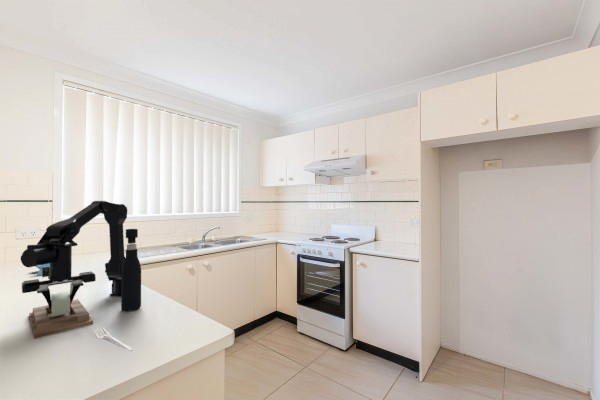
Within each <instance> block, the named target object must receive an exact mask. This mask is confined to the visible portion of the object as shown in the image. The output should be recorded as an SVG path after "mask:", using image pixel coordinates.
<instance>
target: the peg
mask: <svg viewBox="0 0 600 400" xmlns="http://www.w3.org/2000/svg"><path fill="white" fill-rule="evenodd" d="M69 295H70V292H69V291H68V290H66V291H62V292H55V293H50V296H51V303H52V309H51V311H52V316H57V315H62V314H67V313H70V297H69Z"/></svg>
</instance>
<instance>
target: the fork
mask: <svg viewBox="0 0 600 400" xmlns="http://www.w3.org/2000/svg"><path fill="white" fill-rule="evenodd" d="M102 329H103V330H102ZM93 331H94V336H95V337H96V338H97V337H98V339H99V340H100V339H101V340H104V339H106V340H108V341H111V342H112V343H113V344H115V343H116V345H118V346H119V347H122V348H124V349H126V350H128V351H129V352H131V351H132V352H133V350H134V349H133V348H131V347H130V346H128V345H127V344H125V343H124V342H121V341H120V340H118V339H117V338H116V337H114V336H112V333H110V332H109V331H107V329H106V328H105V327H104V325H101V327H100V326H99V327H96V329H95V328H93ZM103 336H105V337H103ZM99 337H102V338H99Z"/></svg>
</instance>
